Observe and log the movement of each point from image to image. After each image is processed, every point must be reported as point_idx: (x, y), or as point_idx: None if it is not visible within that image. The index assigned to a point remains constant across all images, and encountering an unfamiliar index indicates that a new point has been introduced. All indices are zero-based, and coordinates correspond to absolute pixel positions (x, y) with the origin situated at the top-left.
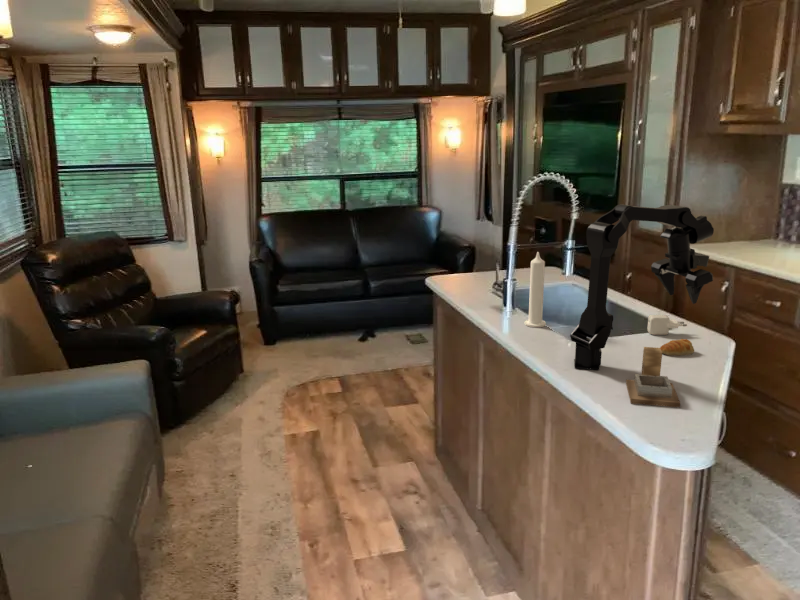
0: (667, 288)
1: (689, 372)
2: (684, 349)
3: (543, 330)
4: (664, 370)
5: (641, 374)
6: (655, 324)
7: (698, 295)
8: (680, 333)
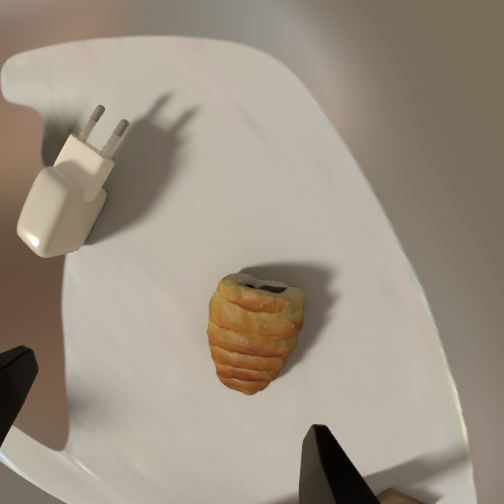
0: (7, 431)
1: (381, 419)
2: (294, 343)
3: None
4: None
5: None
6: (64, 243)
7: (366, 490)
8: None
